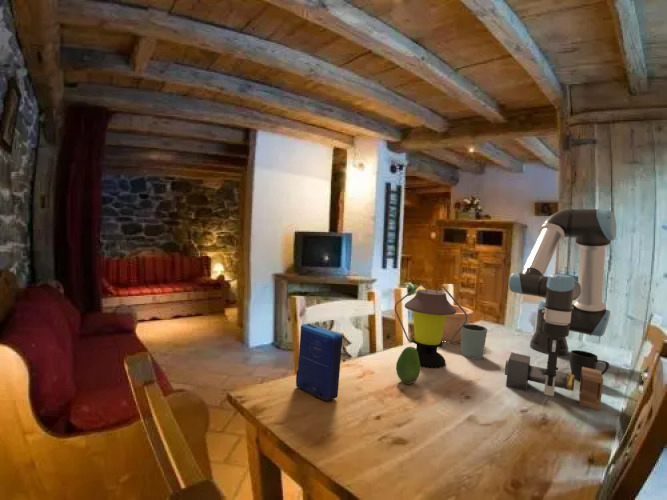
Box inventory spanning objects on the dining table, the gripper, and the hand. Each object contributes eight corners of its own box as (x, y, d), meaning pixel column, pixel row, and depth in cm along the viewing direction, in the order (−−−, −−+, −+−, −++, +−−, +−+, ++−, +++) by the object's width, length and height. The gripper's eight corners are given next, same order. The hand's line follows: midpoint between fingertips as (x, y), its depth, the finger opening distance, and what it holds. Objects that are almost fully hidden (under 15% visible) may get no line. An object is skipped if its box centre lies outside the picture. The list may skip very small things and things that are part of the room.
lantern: (468, 367, 144) (475, 288, 142) (439, 377, 132) (446, 292, 130) (415, 348, 163) (421, 278, 161) (385, 355, 151) (391, 280, 149)
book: (292, 388, 117) (296, 323, 115) (305, 383, 121) (309, 321, 119) (327, 405, 107) (332, 335, 106) (340, 399, 111) (344, 331, 110)
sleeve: (508, 378, 136) (511, 352, 135) (527, 382, 133) (530, 356, 132) (505, 386, 128) (508, 359, 128) (525, 391, 125) (528, 363, 125)
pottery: (472, 336, 187) (475, 307, 186) (468, 349, 167) (470, 316, 166) (427, 329, 196) (430, 301, 195) (418, 339, 176) (421, 309, 175)
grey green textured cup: (486, 355, 160) (489, 327, 159) (481, 361, 151) (484, 332, 150) (462, 349, 165) (464, 322, 164) (455, 355, 157) (458, 327, 156)
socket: (578, 394, 125) (582, 366, 125) (597, 399, 123) (600, 370, 122) (579, 405, 117) (583, 375, 117) (599, 410, 115) (603, 379, 114)
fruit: (423, 383, 127) (426, 347, 126) (411, 389, 121) (414, 352, 120) (403, 375, 132) (406, 341, 131) (390, 381, 126) (393, 345, 125)
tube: (504, 376, 130) (505, 362, 130) (505, 372, 135) (507, 358, 134) (573, 393, 120) (574, 377, 120) (572, 388, 124) (574, 372, 124)
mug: (600, 390, 131) (603, 362, 130) (563, 376, 141) (566, 351, 140) (610, 385, 135) (614, 359, 134) (574, 373, 145) (577, 348, 144)
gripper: (544, 315, 134) (537, 379, 135) (542, 325, 118) (534, 398, 120) (569, 319, 130) (562, 385, 131) (570, 330, 114) (562, 405, 116)
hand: (548, 391), depth 126 cm, fingers closed on tube, 5 cm apart
